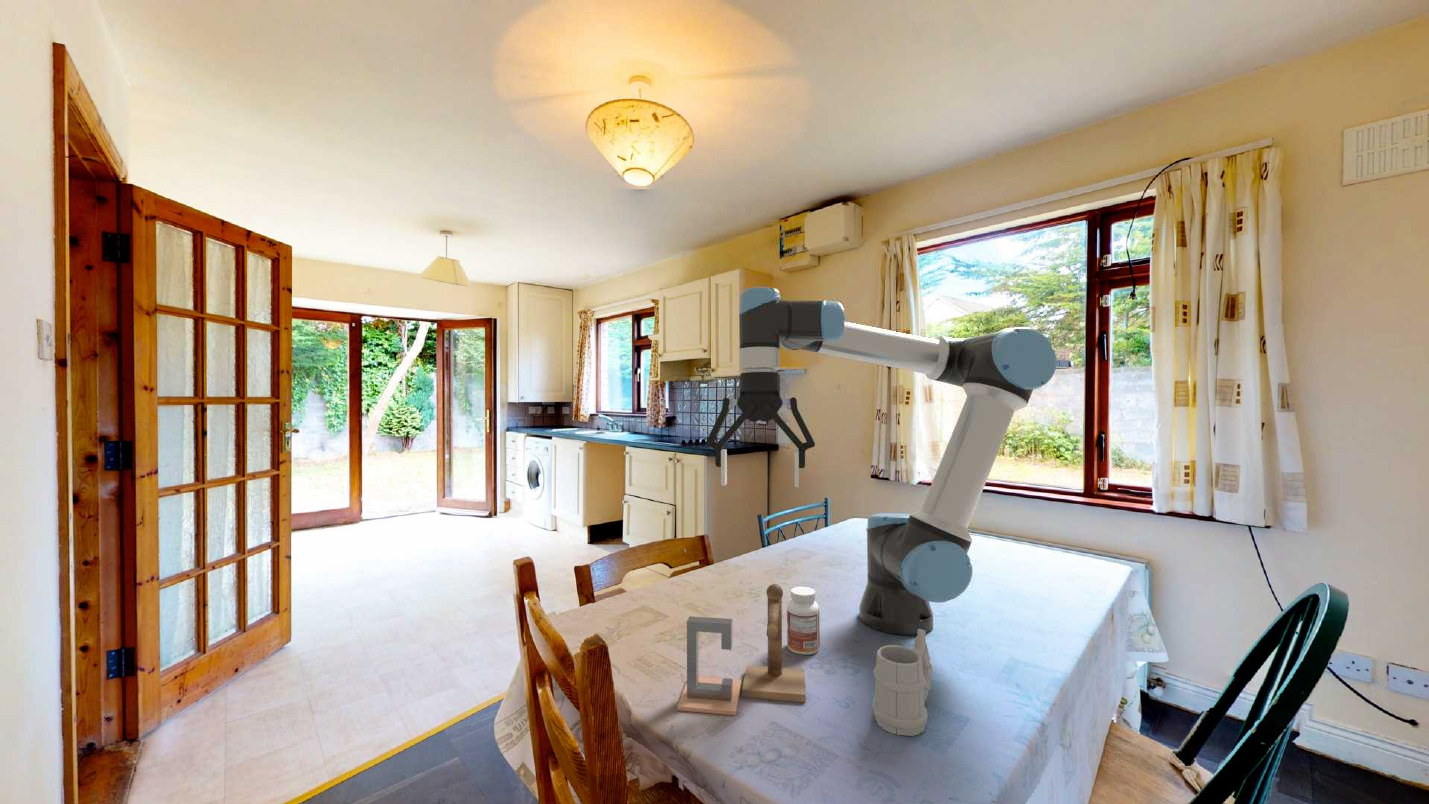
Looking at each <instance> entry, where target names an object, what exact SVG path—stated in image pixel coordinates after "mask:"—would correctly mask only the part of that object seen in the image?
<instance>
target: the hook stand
mask: <svg viewBox="0 0 1429 804" xmlns="http://www.w3.org/2000/svg"><path fill="white" fill-rule="evenodd" d="M766 596H767V624H766V625H767V626H766V627H767V628H766V637H767V666H765V665H764V666H763V665H752V664H751V665H750V664H746V667H745V672H744V678H743V682H742V687H741V698H745V699H761V700H769V701H770V700H773V701H784V702H796V703H797V702H798V703H806V700H807V698H806V695H807V694H806V672H805V671H806V670H805V668H793V667H792V668H789V667H783V604H782V603H783V596H784V591H783V588H782V586H780V585H779V584H776V583H772V584H770V585H769V586H768V587H767V589H766Z"/></svg>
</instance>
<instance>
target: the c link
mask: <svg viewBox="0 0 1429 804" xmlns="http://www.w3.org/2000/svg"><path fill="white" fill-rule="evenodd" d="M699 633H715V634H721V637H720V638H721V646H720V647H721V650H727V651H728V650H729V651H731V650H732V648H733V618H725V617H724V618H722V617H720V618H719V617H708V616H707V617H706V616H689V617H688V618H687V621H686V682H687V698H696V699H708V700H720V701H731V700H732V695H733V680H734V679H733V678H728V677H723V678H722V679H723V681H722V684H714V683H701V682H699V677H700V676H699V673H700V672H699V665H700V664H699V660H700V659H699V655H700V654H699V651H700V649H699V647H700V646H699V643H700V642H699V639H700V638H699Z"/></svg>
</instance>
